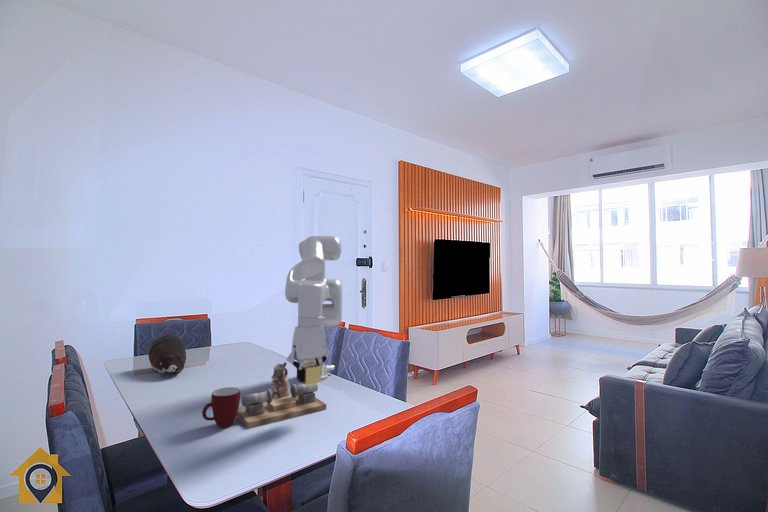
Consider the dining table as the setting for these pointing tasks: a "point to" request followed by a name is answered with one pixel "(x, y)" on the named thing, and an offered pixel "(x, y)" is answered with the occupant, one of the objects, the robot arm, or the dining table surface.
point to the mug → (224, 406)
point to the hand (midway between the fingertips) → (309, 379)
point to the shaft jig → (279, 405)
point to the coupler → (311, 373)
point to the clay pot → (167, 354)
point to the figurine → (280, 382)
